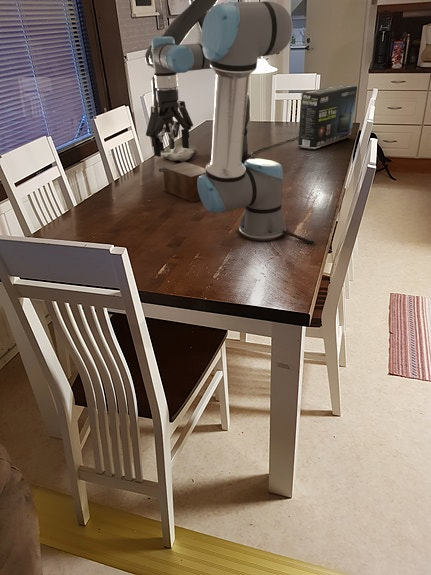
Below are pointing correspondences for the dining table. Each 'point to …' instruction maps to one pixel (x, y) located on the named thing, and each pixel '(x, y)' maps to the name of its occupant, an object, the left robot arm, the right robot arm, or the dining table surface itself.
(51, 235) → the dining table surface
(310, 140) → the router box
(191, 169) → the dark wooden box
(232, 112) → the right robot arm
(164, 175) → the dark piece
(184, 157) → the fossil
